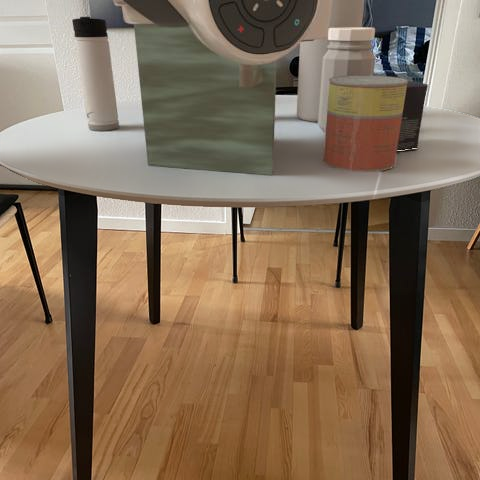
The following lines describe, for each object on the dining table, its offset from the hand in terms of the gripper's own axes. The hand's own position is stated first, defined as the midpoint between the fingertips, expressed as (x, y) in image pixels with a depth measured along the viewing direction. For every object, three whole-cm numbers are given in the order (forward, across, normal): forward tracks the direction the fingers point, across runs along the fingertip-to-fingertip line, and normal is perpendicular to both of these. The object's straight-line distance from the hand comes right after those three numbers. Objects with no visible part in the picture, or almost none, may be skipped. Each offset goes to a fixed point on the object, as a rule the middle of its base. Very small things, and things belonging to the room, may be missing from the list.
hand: (218, 2), depth 54 cm
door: (+10, -2, -21) cm, 23 cm away
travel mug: (+48, -20, -21) cm, 57 cm away
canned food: (+13, +23, -22) cm, 34 cm away
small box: (+24, +32, -22) cm, 45 cm away
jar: (+38, +28, -22) cm, 52 cm away
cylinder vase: (+53, +28, -22) cm, 64 cm away
